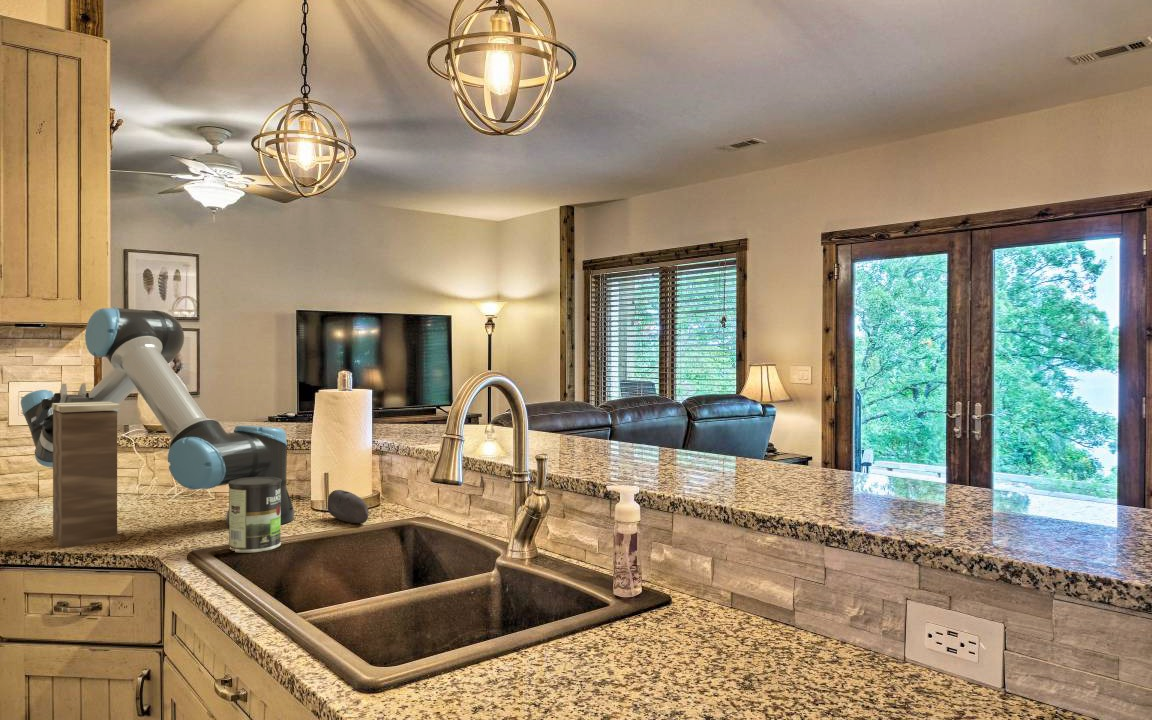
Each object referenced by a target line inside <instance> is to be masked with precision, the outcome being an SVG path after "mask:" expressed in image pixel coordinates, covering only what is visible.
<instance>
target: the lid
mask: <svg viewBox="0 0 1152 720" xmlns="http://www.w3.org/2000/svg"><path fill="white" fill-rule="evenodd" d="M52 409H54V410H56V411H59V412H61V413H63V412H87V411H111V410H118V411H121V403H119V404H116V403H113V402H109V401H102V402H89V398H87V397H83V396H80V395H78V394H74V393H73V394H67V396H66V399H65V402H64V403H52Z"/></svg>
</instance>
